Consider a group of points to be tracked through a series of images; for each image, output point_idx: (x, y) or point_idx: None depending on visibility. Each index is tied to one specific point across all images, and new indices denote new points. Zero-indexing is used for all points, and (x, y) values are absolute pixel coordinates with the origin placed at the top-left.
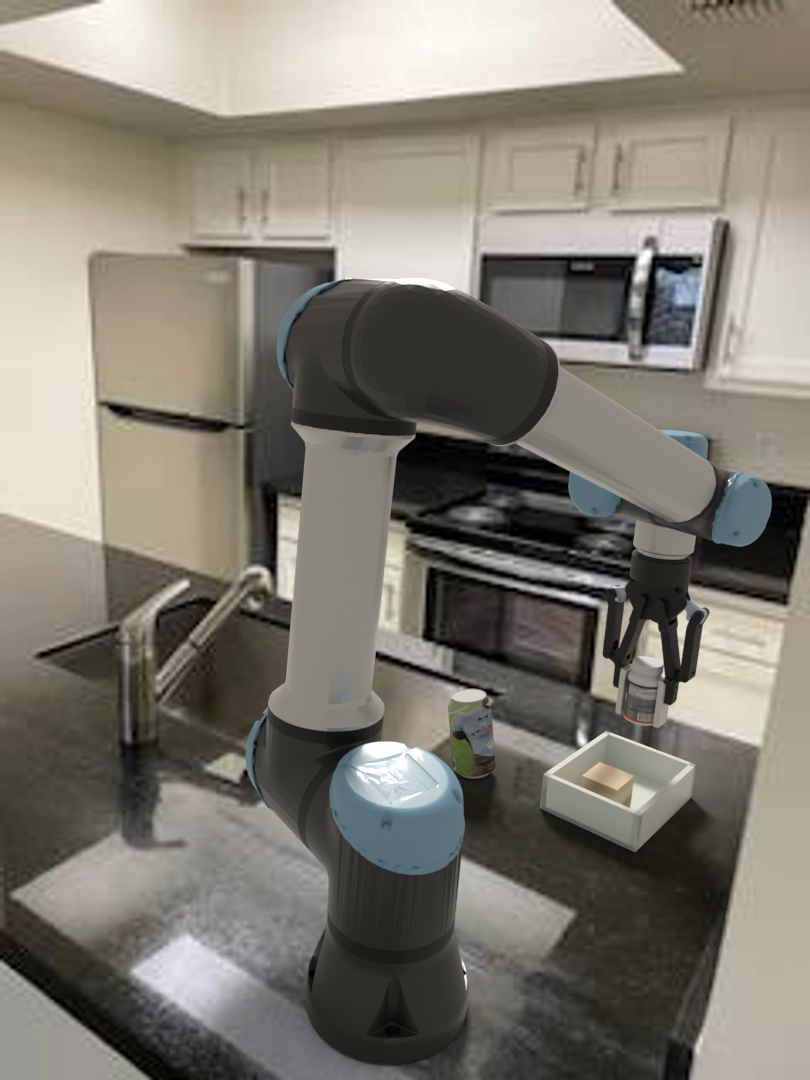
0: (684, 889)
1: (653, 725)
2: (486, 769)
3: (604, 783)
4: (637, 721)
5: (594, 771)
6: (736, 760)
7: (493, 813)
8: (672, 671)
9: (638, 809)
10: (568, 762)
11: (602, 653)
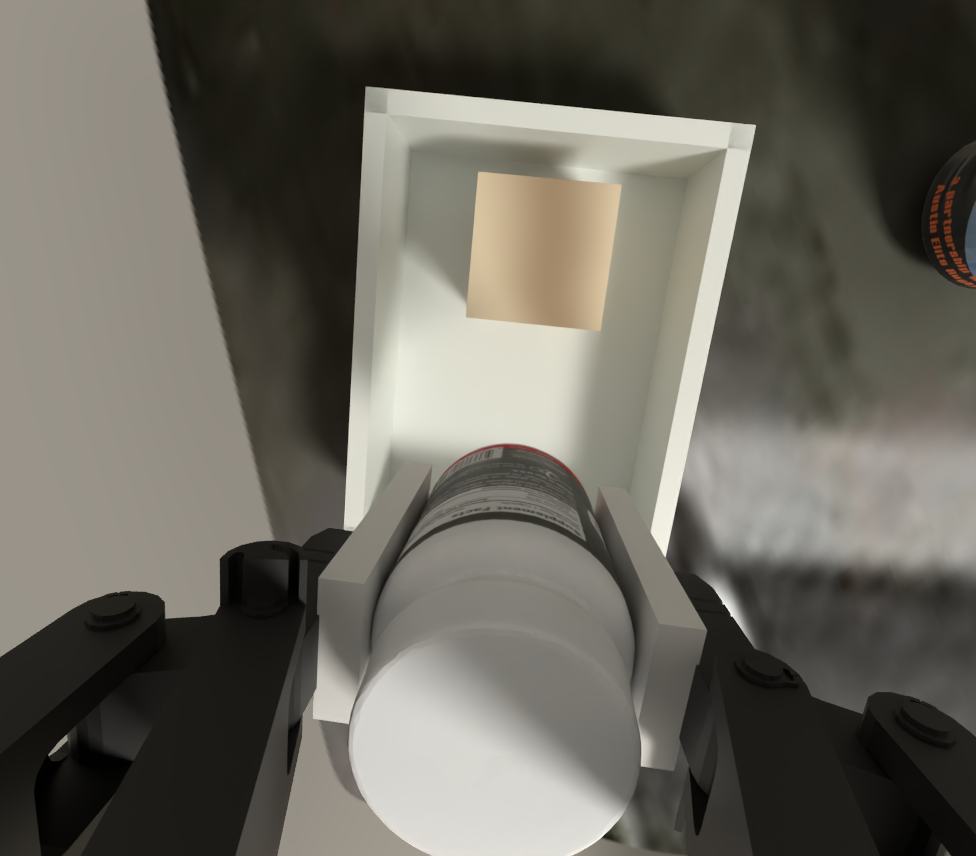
0: (239, 55)
1: (427, 464)
2: (950, 173)
3: (533, 187)
4: (498, 445)
5: (593, 248)
6: (347, 741)
7: (822, 31)
8: (201, 649)
9: (385, 128)
10: (701, 280)
11: (965, 729)
